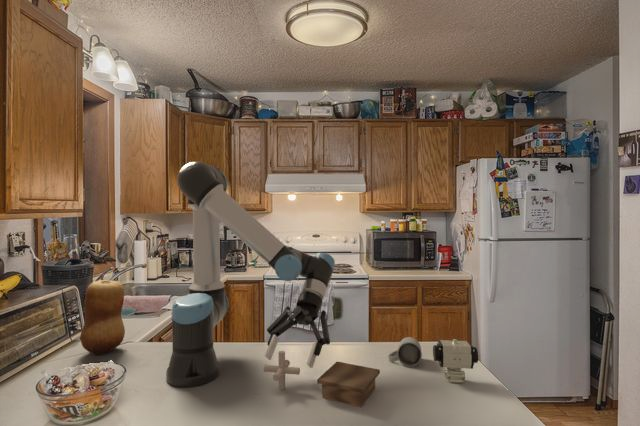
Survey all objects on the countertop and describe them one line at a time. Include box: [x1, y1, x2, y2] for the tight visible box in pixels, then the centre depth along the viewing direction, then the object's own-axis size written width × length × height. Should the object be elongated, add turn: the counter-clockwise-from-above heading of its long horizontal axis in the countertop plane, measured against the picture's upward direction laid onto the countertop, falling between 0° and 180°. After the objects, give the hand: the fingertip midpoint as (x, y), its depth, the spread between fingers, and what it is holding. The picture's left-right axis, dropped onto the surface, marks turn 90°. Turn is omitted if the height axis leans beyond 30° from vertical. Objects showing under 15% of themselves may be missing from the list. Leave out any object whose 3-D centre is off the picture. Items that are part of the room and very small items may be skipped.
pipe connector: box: [263, 350, 301, 390], centre depth 105 cm, size 10×10×10 cm
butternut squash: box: [79, 279, 126, 356], centre depth 131 cm, size 14×13×25 cm
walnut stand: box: [316, 361, 381, 408], centre depth 102 cm, size 13×13×5 cm
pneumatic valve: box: [432, 338, 479, 384], centre depth 108 cm, size 6×12×12 cm, turn 83°
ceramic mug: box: [387, 336, 423, 368], centre depth 123 cm, size 11×8×8 cm
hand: (288, 361), depth 106 cm, fingers open, 13 cm apart
